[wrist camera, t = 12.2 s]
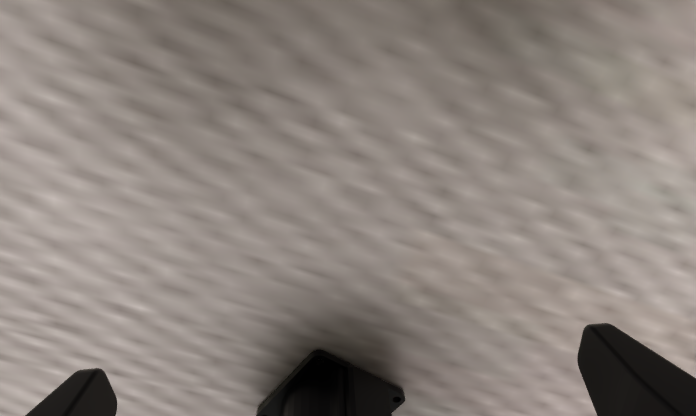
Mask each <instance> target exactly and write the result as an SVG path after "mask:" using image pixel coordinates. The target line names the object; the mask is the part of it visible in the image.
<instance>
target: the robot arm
mask: <svg viewBox="0 0 696 416" xmlns="http://www.w3.org/2000/svg"><path fill="white" fill-rule="evenodd" d="M317 359H321V360H317ZM578 366H579V369H580V372H581V374H582V377H583V380H584V382H585V385H586V387H587V390H588V393H589V395H590V398H591V400H592V403H593V406H594V408H595V411H596V413H597V416H696V378H694V377H693V376H691V375H690V374H688V373H687V372H685V371H683V370H682V369H680V368H679V367H677V366H676V365H674V364H673V363H671V362H669V361H668V360H666V359H665V358H663V357H662V356H660V355H658V354H657V353H655V352H654V351H652V350H651V349H649V348H647V347H646V346H644V345H643V344H641V343H640V342H638V341H637V340H635V339H633V338H632V337H630V336H629V335H627V334H626V333H624V332H622V331H621V330H619V329H618V328H616V327H615V326H613V325H611V324H608V323H601V324H590V325H587V326H586V327H585V328H584V330H583V334H582V339H581V343H580V347H579V352H578ZM404 401H405V395H404V391H403V390H402V389H400V388H398V387H396V386H394V385H392V384H390V383H388V382H386V381H384V380H382V379H380V378H378V377H376V376H374V375H372V374H370V373H368V372H366V371H364V370H362V369H360V368H358V367H356V366H354V365H352V364H350V363H348V362H346V361H344V360H342V359H340V358H338V357H336V356H334V355H331V354H329V353H327V352H325V351H323V350H316V351H313V352H312V353H311V354H310V355H309V356H308V357H307V358H306V359H305V360H304V361H303V362H302V363H301V364H300V365H299V366H298V368H297V369H296V370H295V371H294V372H293V373H292V374H291V375H290V376H289V377H288V378H287V379H286V380H285V381H284V382H283V383H282V384H281V385H280V386H279V387H278V388H277V389H276V391H275V392H274V393H273V394H272V395H271V396H270V397H269V398H268V399H267V400H266V401H265V402H264V403H263V404H262V405H261V406H260V407H259V408H258V410H257V414H256V416H392V414H391V413H392V412H393V411H394V410H396V409H397V408H398V407H399V406H400V405H401V404H402V403H403V402H404ZM116 410H117V399H116V395H115V393H114V391H113V389H112V387H111V385H110V382H109V380H108V378H107V376H106V374H105V372H104V371H103V370H102V369H99V368H95V369H84V370H79V371H77V372H75V373H74V374H73V375H72V376H70V377H69V378H68V379H67V380H66V381H65V382H63V383H62V384H61V385H60V386H59V387H58V388H57V389H55V390H54V391H53V392H52V393H51V394H50V395H48V396H47V397H46V398H45V399H44V400H43V401H42V402H40V403H39V404H38V405H37V406H36V407H35V408H33V409H32V410H31V411H30V412H29V413H28V414H27V415H25V416H115V415H116Z"/></svg>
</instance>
